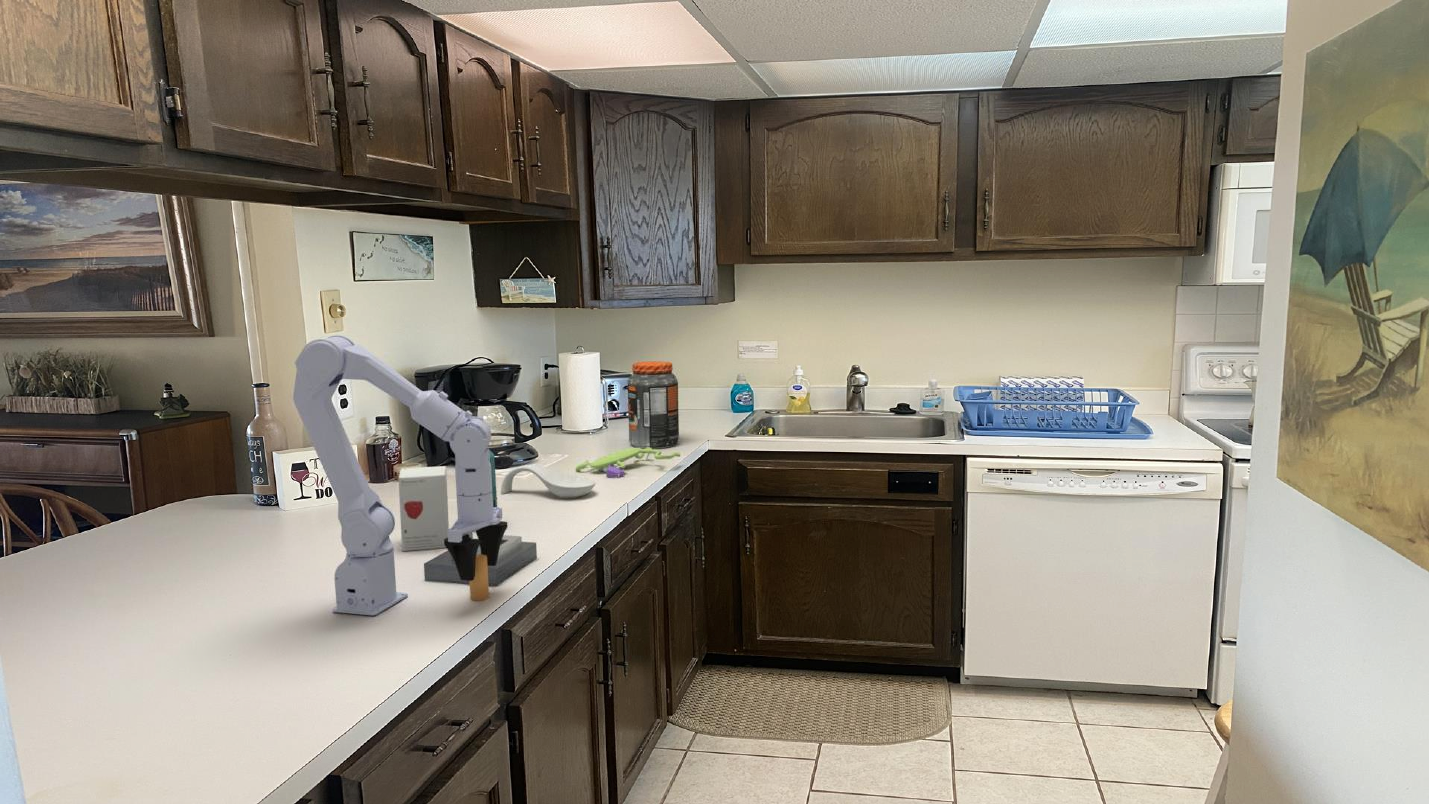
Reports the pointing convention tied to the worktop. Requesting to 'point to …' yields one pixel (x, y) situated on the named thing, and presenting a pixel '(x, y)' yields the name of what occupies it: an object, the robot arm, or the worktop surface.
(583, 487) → the spoon rest
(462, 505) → the robot arm
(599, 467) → the figurine
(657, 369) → the supplement tub
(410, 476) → the supplement box
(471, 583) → the pin
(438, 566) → the grey peg socket block
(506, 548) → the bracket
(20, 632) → the worktop surface
